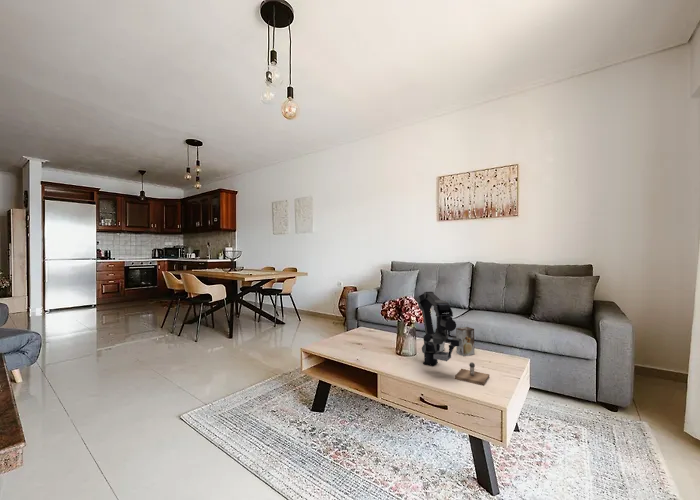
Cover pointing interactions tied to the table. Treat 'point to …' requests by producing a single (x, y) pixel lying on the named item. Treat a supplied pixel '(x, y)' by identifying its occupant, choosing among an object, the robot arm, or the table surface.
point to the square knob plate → (472, 376)
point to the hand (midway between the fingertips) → (442, 356)
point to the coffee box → (465, 341)
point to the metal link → (441, 356)
